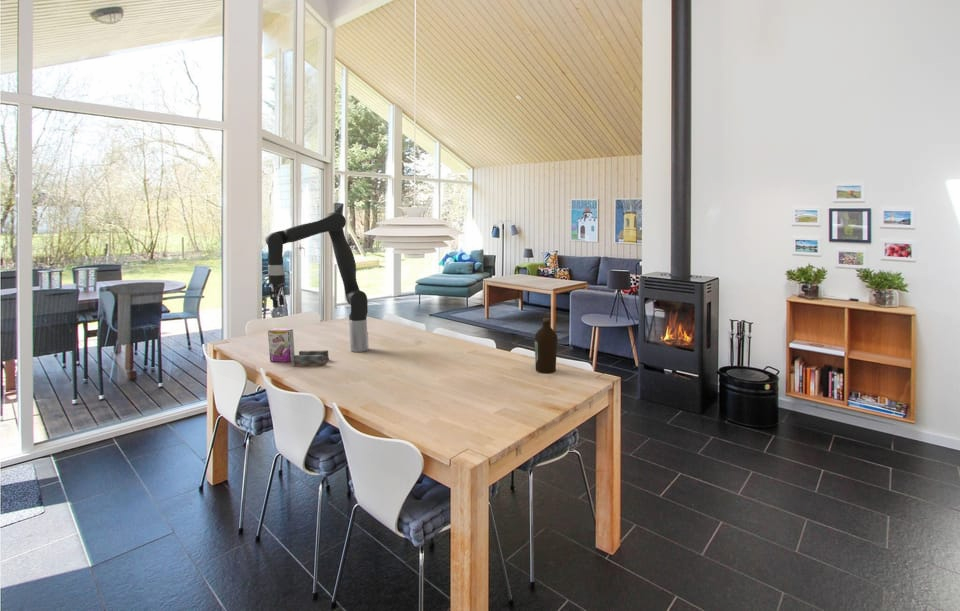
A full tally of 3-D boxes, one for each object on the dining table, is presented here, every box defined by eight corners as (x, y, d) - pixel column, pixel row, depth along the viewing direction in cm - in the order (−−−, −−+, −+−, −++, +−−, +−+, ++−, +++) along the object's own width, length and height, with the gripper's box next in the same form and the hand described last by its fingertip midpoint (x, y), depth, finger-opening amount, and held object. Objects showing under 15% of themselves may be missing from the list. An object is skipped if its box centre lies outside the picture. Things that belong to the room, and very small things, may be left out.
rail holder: (329, 359, 256) (328, 350, 255) (322, 366, 244) (322, 356, 243) (301, 360, 255) (300, 350, 254) (293, 366, 243) (293, 356, 243)
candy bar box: (269, 362, 252) (267, 330, 249) (274, 359, 257) (272, 328, 254) (290, 362, 251) (288, 330, 248) (295, 359, 256) (293, 328, 253)
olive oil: (556, 367, 240) (557, 316, 236) (557, 374, 229) (558, 320, 225) (534, 366, 241) (535, 316, 237) (533, 373, 231) (534, 320, 227)
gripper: (279, 275, 240) (281, 308, 242) (288, 272, 254) (291, 303, 256) (263, 275, 239) (265, 308, 242) (273, 272, 253) (276, 304, 256)
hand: (278, 306), depth 249 cm, fingers open, 8 cm apart
